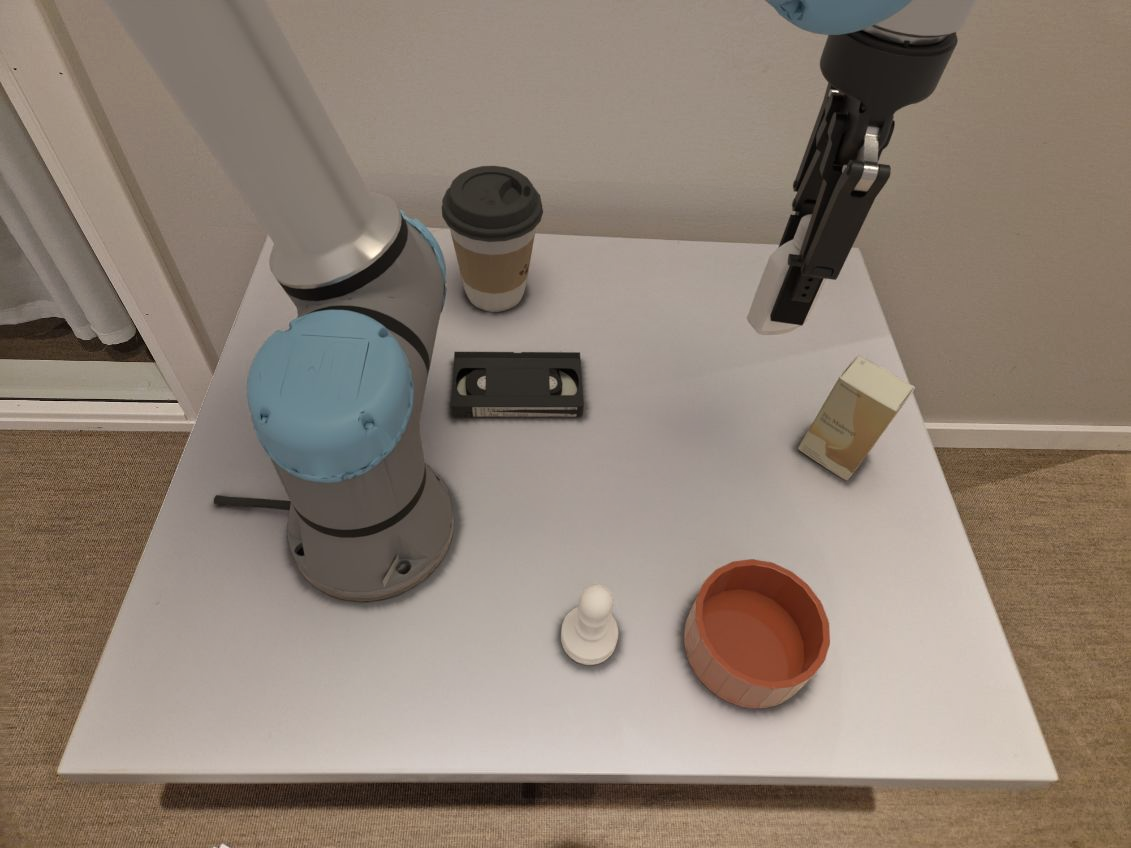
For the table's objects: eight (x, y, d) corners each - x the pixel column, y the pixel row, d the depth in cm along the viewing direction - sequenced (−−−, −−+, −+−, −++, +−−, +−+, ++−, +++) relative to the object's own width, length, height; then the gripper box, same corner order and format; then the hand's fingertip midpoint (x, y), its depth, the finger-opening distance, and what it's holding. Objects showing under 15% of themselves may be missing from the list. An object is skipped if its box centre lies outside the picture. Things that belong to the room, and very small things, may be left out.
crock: (679, 695, 62) (692, 674, 58) (687, 577, 69) (699, 549, 65) (811, 719, 61) (833, 700, 57) (806, 597, 68) (826, 571, 64)
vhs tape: (452, 417, 79) (450, 406, 77) (455, 363, 84) (454, 351, 82) (582, 417, 80) (584, 406, 78) (578, 364, 85) (580, 352, 83)
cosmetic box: (795, 450, 79) (835, 375, 69) (815, 426, 81) (855, 351, 71) (849, 484, 76) (897, 411, 67) (867, 459, 78) (917, 385, 69)
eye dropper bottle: (810, 342, 64) (863, 230, 54) (746, 334, 64) (788, 221, 54) (805, 308, 67) (855, 196, 57) (744, 300, 67) (783, 187, 57)
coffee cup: (538, 326, 88) (542, 224, 76) (444, 322, 88) (433, 219, 76) (541, 264, 95) (545, 162, 83) (454, 260, 95) (445, 156, 83)
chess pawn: (558, 612, 66) (563, 567, 59) (613, 609, 66) (625, 565, 59) (562, 667, 63) (568, 627, 56) (619, 664, 63) (633, 624, 56)
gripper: (993, 97, 39) (837, 380, 58) (936, -32, 50) (820, 242, 68) (853, 79, 39) (743, 367, 58) (826, -46, 50) (740, 231, 69)
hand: (785, 299), depth 63 cm, fingers closed on eye dropper bottle, 4 cm apart
